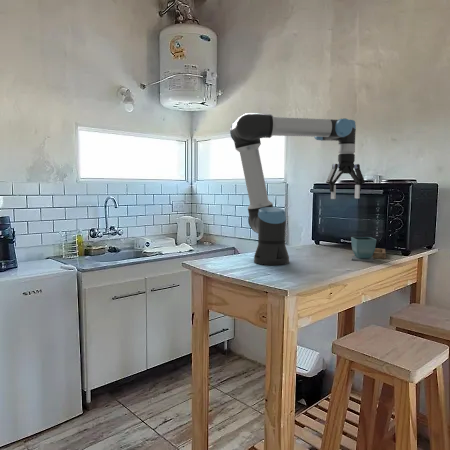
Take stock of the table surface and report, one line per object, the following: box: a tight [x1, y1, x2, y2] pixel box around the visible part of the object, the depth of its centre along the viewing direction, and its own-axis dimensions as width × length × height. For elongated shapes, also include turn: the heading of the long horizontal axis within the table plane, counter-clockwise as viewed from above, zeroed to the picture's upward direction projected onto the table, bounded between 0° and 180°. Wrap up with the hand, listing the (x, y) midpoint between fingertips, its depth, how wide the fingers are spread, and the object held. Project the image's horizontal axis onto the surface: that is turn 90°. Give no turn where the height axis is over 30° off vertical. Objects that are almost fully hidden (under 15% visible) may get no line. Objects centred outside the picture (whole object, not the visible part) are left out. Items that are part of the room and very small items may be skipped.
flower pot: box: [350, 236, 377, 259], centre depth 182 cm, size 9×9×9 cm
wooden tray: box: [372, 247, 387, 260], centre depth 192 cm, size 13×13×2 cm
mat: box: [351, 255, 374, 263], centre depth 183 cm, size 9×9×1 cm
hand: (345, 198), depth 194 cm, fingers open, 13 cm apart
